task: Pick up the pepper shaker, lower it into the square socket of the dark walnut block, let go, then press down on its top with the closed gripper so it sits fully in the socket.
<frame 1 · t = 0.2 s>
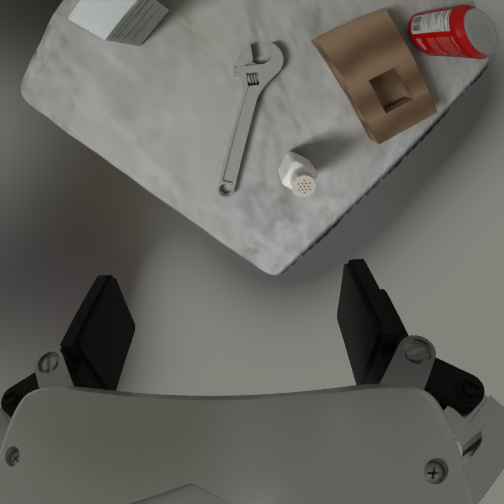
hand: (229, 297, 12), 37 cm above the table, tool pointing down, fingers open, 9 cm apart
supplement box: (138, 18, 32), on the table
adjustable wrench: (239, 117, 42), on the table
socket block: (373, 73, 37), on the table
pepper shaker: (293, 164, 46), on the table
soda can: (424, 34, 32), on the table
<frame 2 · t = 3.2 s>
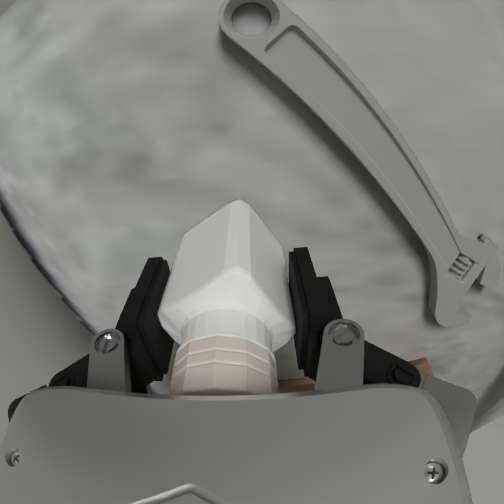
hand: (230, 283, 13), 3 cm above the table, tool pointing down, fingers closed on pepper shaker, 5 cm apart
adjustable wrench: (414, 181, 14), on the table
socket block: (322, 408, 26), on the table
pepper shaker: (233, 239, 16), on the table, touching gripper
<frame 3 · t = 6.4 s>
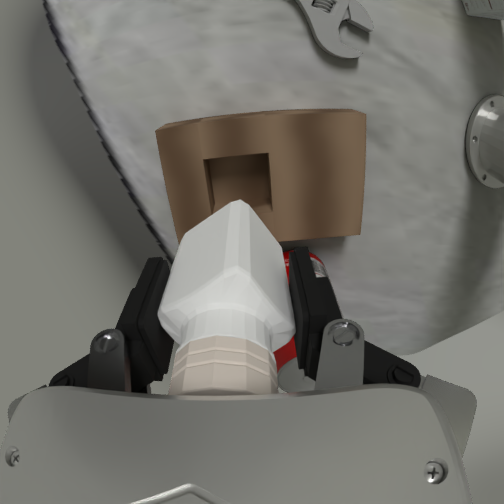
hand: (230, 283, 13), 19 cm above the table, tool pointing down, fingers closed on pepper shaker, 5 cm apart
socket block: (264, 170, 29), on the table
pepper shaker: (232, 239, 16), point 15 cm above the table, touching gripper
soda can: (292, 272, 36), on the table
when the fingers open (5 cm above the table, at t = 9.6 s): pepper shaker drops 1 cm, resting on socket block.
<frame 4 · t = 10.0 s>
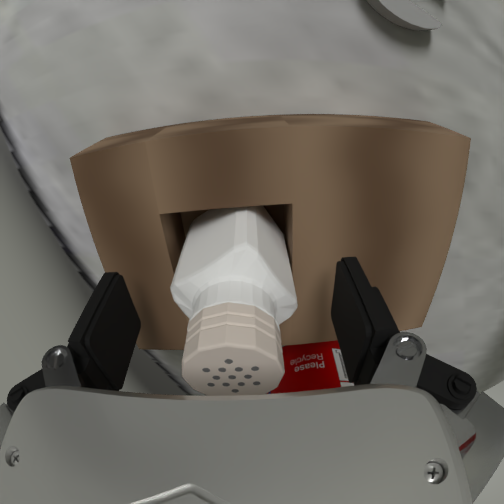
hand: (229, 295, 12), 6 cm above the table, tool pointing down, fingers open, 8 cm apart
socket block: (278, 221, 17), on the table
pepper shaker: (238, 226, 17), resting on socket block
soda can: (309, 356, 24), on the table
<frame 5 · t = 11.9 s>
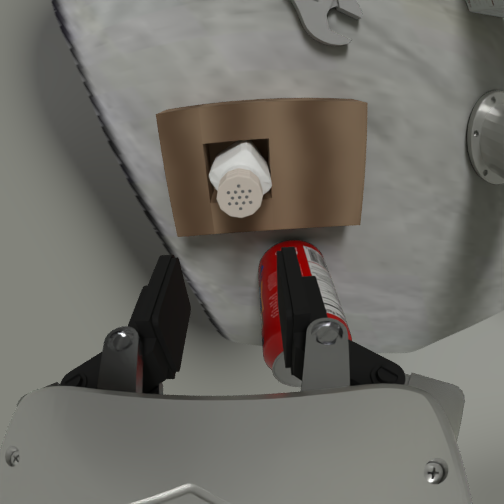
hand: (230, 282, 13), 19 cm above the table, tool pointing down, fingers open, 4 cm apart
socket block: (264, 158, 29), on the table
pepper shaker: (241, 160, 29), resting on socket block
soda can: (290, 263, 36), on the table
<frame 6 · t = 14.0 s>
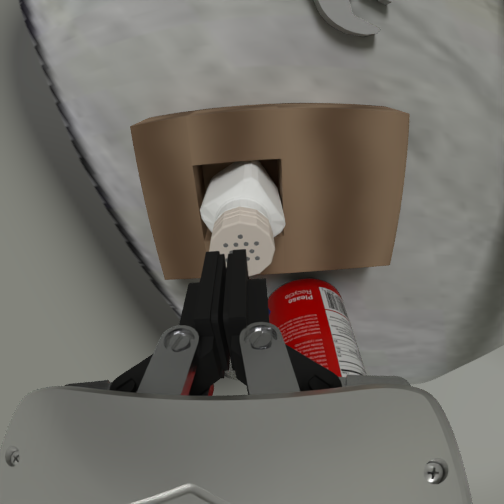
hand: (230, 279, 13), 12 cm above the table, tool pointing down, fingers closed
socket block: (273, 180, 23), on the table
pepper shaker: (244, 183, 23), resting on socket block
soda can: (302, 302, 30), on the table
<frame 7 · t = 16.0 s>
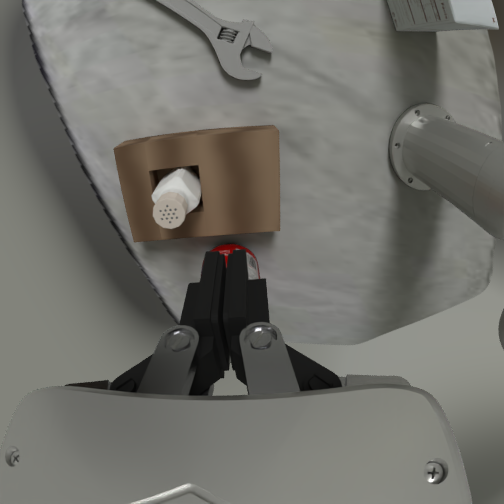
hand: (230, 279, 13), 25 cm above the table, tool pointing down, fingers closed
supplement box: (408, 7, 24), on the table
adjustable wrench: (189, 5, 25), on the table
socket block: (201, 177, 36), on the table
pepper shaker: (183, 180, 36), resting on socket block
soda can: (230, 263, 43), on the table
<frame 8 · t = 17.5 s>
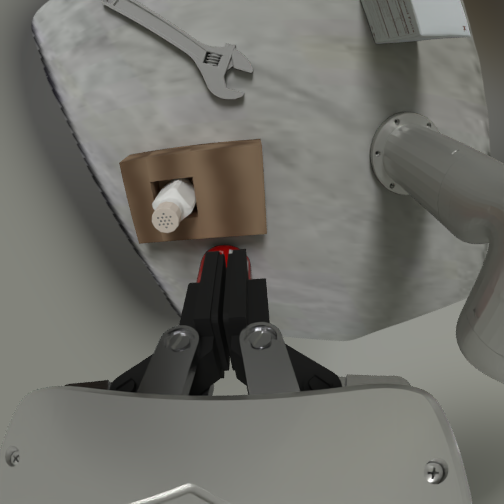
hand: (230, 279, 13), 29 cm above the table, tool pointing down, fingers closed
supplement box: (388, 19, 27), on the table
adjustable wrench: (178, 31, 29), on the table
socket block: (197, 186, 41), on the table
pepper shaker: (181, 189, 40), resting on socket block
soda can: (226, 262, 48), on the table
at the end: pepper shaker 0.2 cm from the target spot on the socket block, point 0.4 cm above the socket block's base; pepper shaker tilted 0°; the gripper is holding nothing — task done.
